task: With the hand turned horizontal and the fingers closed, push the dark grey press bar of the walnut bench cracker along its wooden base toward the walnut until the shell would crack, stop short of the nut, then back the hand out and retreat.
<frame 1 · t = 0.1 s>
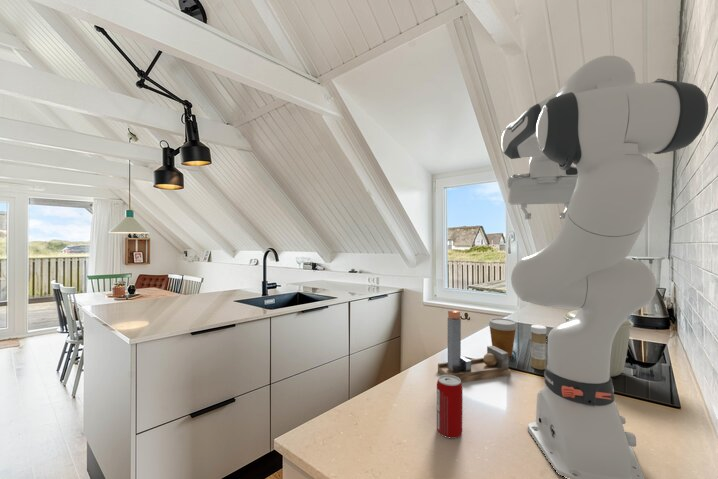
hand: (545, 219, 99), 48 cm above the worktop, tool pointing down, fingers open, 8 cm apart
disposable coffee cup: (502, 354, 120), on the worktop
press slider: (457, 340, 102), point 11 cm above the worktop, slide at 0.0 cm
cracker bench: (453, 375, 102), on the worktop
sprinkles bottle: (538, 367, 108), on the worktop
canister: (596, 370, 106), on the worktop
soda can: (449, 433, 73), on the worktop
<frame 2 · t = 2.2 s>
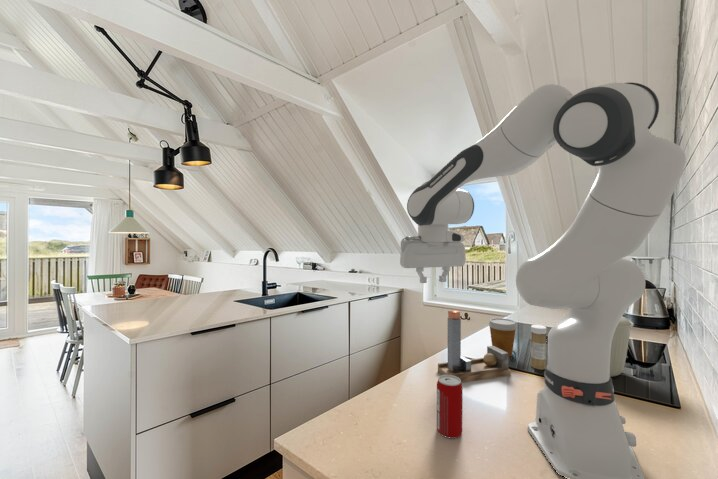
hand: (433, 282, 99), 29 cm above the worktop, tool pointing down, fingers open, 5 cm apart
nothing on the worktop moved.
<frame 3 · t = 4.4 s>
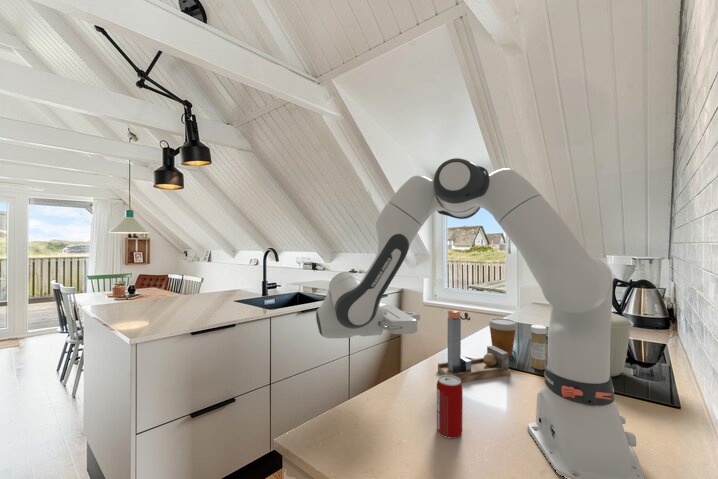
hand: (417, 316, 98), 19 cm above the worktop, tool horizontal, fingers closed
nothing on the worktop moved.
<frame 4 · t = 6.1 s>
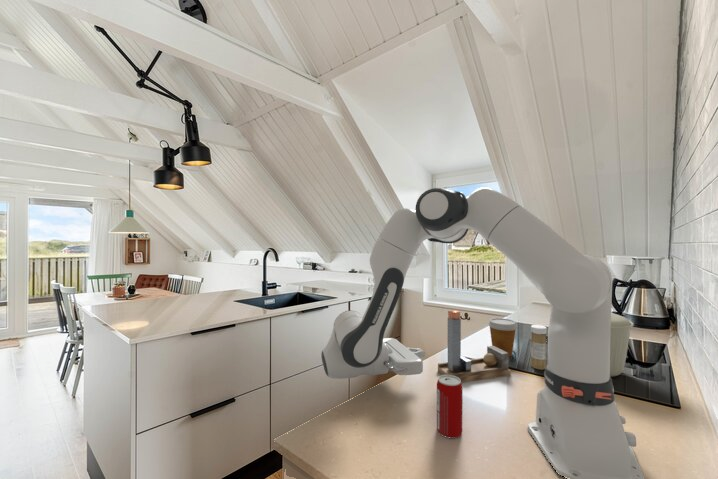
hand: (422, 352, 98), 8 cm above the worktop, tool horizontal, fingers closed
nothing on the worktop moved.
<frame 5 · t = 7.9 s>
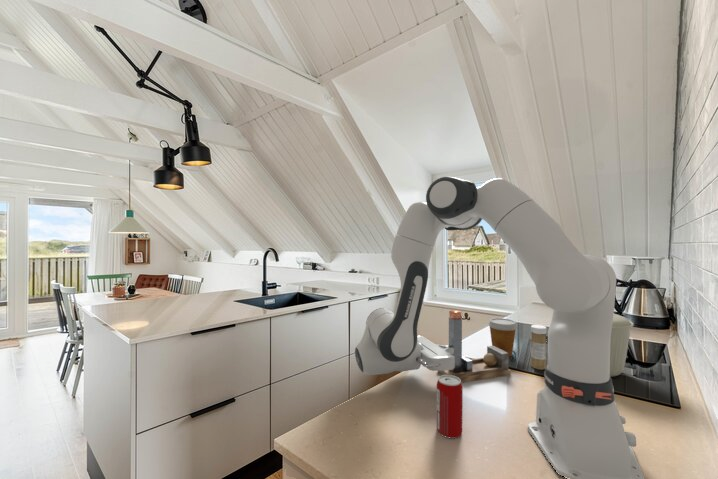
hand: (451, 349, 101), 8 cm above the worktop, tool horizontal, fingers closed, pressing on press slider
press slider: (458, 340, 102), point 11 cm above the worktop, slide at 0.4 cm, touching gripper
everything else where it was.
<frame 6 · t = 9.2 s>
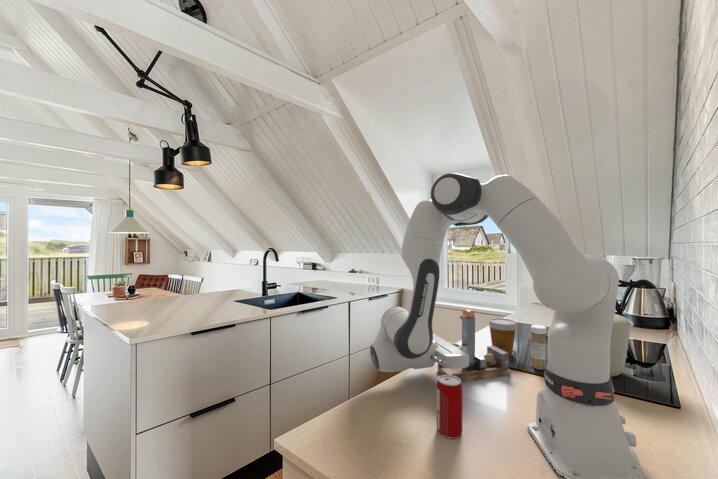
hand: (464, 347, 102), 8 cm above the worktop, tool horizontal, fingers closed, pressing on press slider
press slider: (471, 339, 103), point 11 cm above the worktop, slide at 5.0 cm, touching gripper
everything else where it was.
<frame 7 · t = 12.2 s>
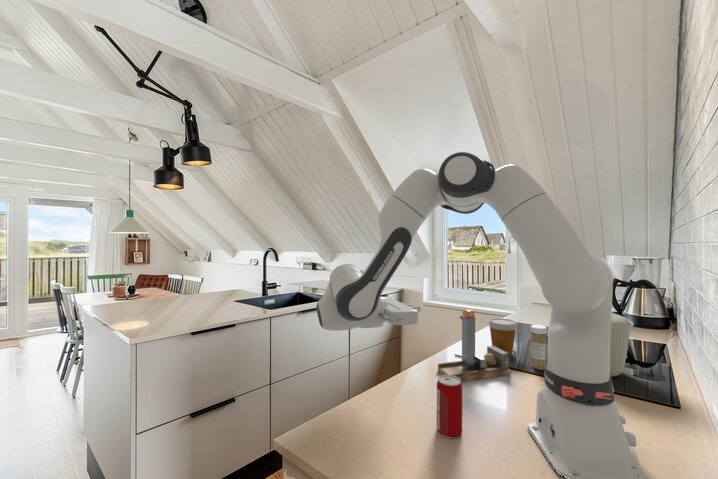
hand: (418, 308, 98), 22 cm above the worktop, tool horizontal, fingers closed
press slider: (471, 339, 103), point 11 cm above the worktop, slide at 5.1 cm
everything else where it was.
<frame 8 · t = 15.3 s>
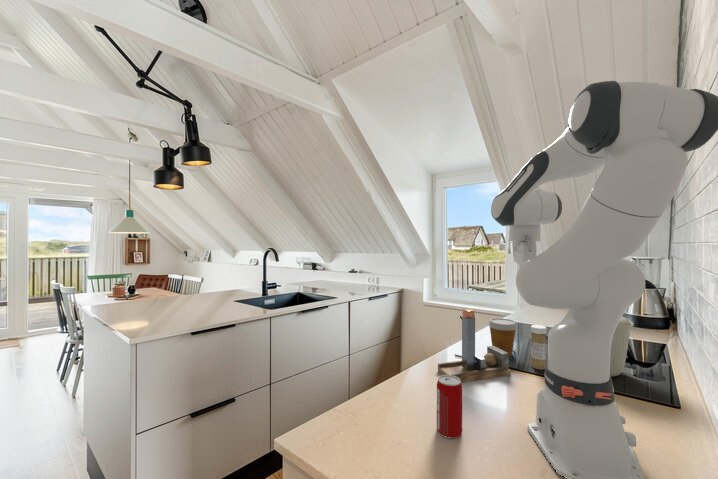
hand: (524, 279, 105), 29 cm above the worktop, tool pointing down, fingers closed
nothing on the worktop moved.
at the end: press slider slide at 5.1 cm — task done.
